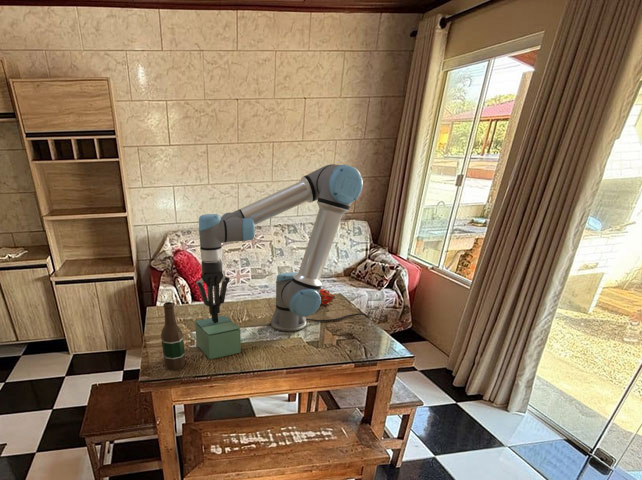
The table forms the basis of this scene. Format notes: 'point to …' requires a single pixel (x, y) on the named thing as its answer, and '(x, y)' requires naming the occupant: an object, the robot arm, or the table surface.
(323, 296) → the dragon fruit
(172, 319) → the beer bottle
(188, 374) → the table surface
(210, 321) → the flap
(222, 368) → the table surface
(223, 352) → the container
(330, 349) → the table surface
